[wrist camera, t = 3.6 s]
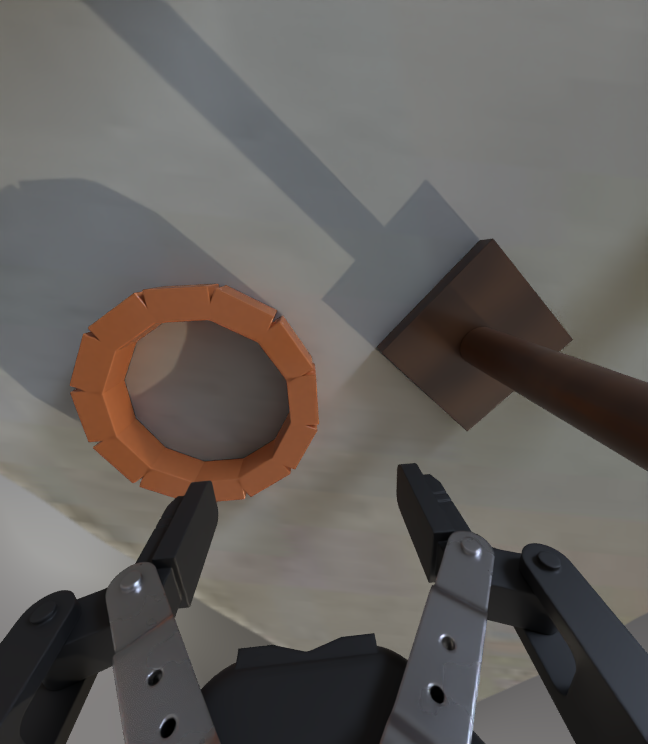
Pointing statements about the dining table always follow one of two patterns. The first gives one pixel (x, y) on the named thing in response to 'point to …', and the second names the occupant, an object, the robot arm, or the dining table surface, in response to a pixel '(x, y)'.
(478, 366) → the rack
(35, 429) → the dining table surface
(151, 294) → the hoop
